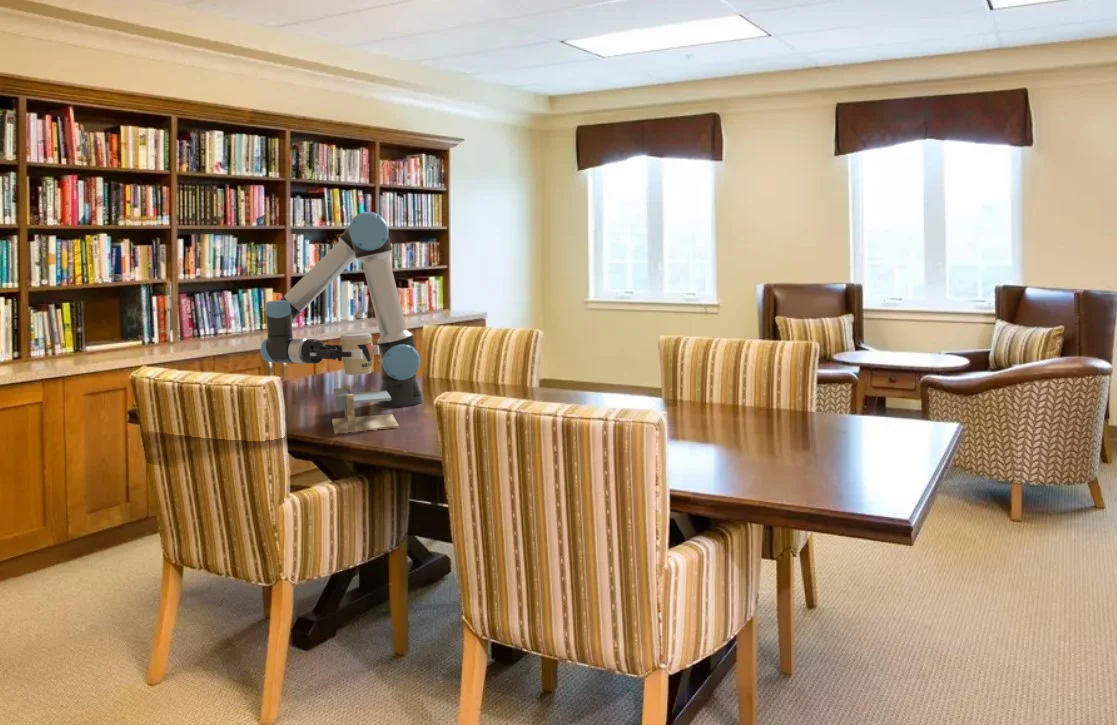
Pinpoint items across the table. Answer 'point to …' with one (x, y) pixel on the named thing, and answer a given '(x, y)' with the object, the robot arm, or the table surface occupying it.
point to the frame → (361, 419)
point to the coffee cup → (357, 343)
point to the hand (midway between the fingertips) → (370, 352)
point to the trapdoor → (358, 397)
